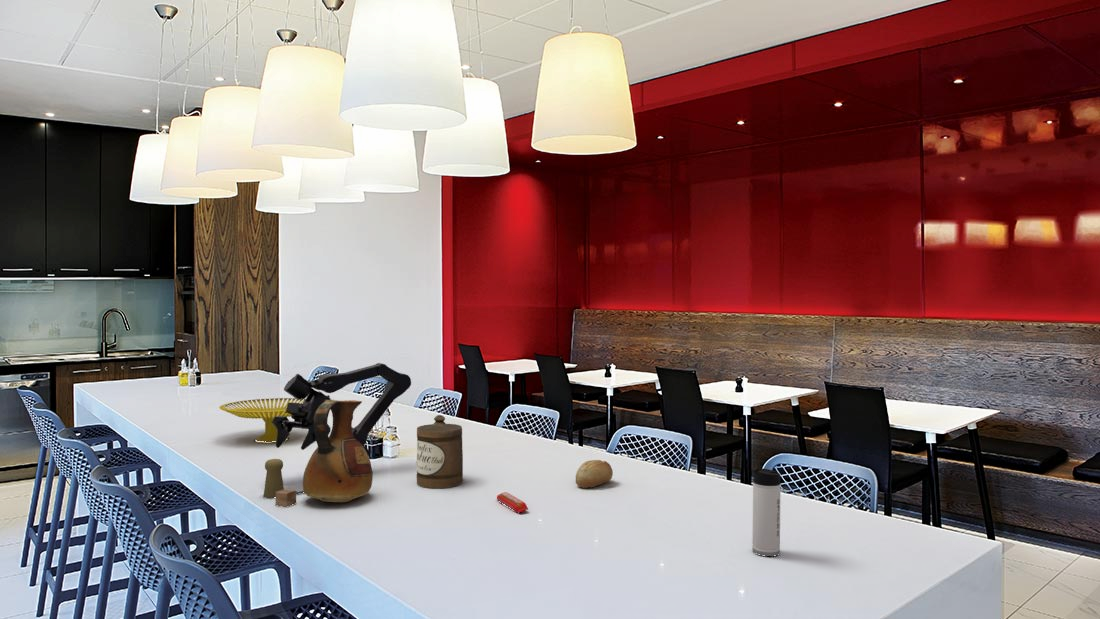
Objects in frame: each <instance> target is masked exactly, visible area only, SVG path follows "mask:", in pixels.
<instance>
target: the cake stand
mask: <svg viewBox="0 0 1100 619" xmlns="http://www.w3.org/2000/svg"><path fill="white" fill-rule="evenodd" d="M305 400H306V398H305V399H302V398H301V399H300V400H297V399H296V398H294V397H278V398H277V397H273V398H258V399H257V398H255V399H245V400H239V401H234V402H232V401H231V402H227V403H224V404H221V405H220V406H219V407H218V408H219V409H220V410H221V411H225V412H226V413H229V414H231V415H234V416H236V417H238V418H243V419H262V420H263V422H264V428H265V429H264V430H265V431H264V434H262V435H260V436H259V437H256V438H255V439H256V440H257V441H264V442H265V441H266V442H272V441H277V428H276V427H275V426H274V425H273V423H272V421H273V419H274V417H276V416H284V417H287V418H290V417H291V416H292V415H291V414H289V413H286V408H287V405H288V402H290V403H302V404H303V402H304V401H305ZM253 403H254V404H253ZM262 405H263V406H262ZM287 438H289V436H288V437H287ZM287 438H286V439H287Z"/></svg>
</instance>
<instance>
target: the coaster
mask: <svg viewBox="0 0 1100 619" xmlns="http://www.w3.org/2000/svg"><path fill="white" fill-rule="evenodd" d="M284 489H290V490H296V494H298V493H303V492H304V490H303V483H298V484H293V485H289V486H284ZM303 494H304V493H303ZM298 495H299V494H298Z"/></svg>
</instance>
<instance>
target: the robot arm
mask: <svg viewBox="0 0 1100 619" xmlns="http://www.w3.org/2000/svg"><path fill="white" fill-rule="evenodd" d="M375 377H380V378H383V379H384V380H385V381H387V382H386V384H385V387H384V390H383V393H382V394H380V397H379V398H378V399H377V400H376V402H375V403H374V404H373V405H372V407H371V408H370V409H369V410H368V412H367V413H366V414H365V415H364V417H363V418H362V419H361V421H360V422H359V423H358V424H357V425H356V426H354V427H352V432H353V435H354V438H355V439H356V440H357V441H359V442H360V443H361V445H362V446H363V447H364V449H365V450H366V452H367V454H368V456H369V457H370V454H371V451H370V449H368V448H367V447H366V446H365V445H366V443H367V441H368V438H369V434H370V432H371V431H372V429H373V428H374V427H375V426H376V424H377V423H378V422H379V420H380V419H381V418H382V416H384V414H385V413H386V411H387V410H388V409H389V407H390V406H391V405H392V403H393V402H394V401H395V400H396V399H398V398H399V397H400V396H402V395H403V394H404V393H405V392H407V390H408V389H410V387H411V386H412V379H411V377H410V375H408V374H405V373H403V372H398V371H396V370H394V369H393V368H390V367H389V366H388V365H387V364H384V363H381V362H377V363H375V364H372V365H368V366H364V367H361V368H357V369H353V370H350V371H346V372H342V373H341V372H339V373H338V372H337V373H325V374H321V375H320V376H319V377H318V378H317V379H315V380H311V381H308V380H307V379H305V378H304V377H303V375H301V374H300V373H296V374H295V376H293V377H292V378H291V379H290V380H288V381H287V383H286V384H285V386H284V387H283V391H284V392H285V393H287V394H288V395H290V396H291V397H292V398H296V399H295V400H298V401H300V399H303V400H304V399H306V400H305V401H304V402H303V403H301V402H300V403H298V402H296V403H294V402H293V403H291V401H290V402H288V401H287V402H288V405H287V408H286V413H289V414H291V415H292V416H290V417H291V419H292V420H290V419H288V418H289V417H284V416H276V417H274V419H273V421H272V423H273V425H274V426H275V427H276V428H277V441H276V443H275V447H276V449H279V448H280V447H281V446H282V445H283V443H285V442H286V441H285V440H286V438H287V437H288V438H289V436H290V434H291V433H290V432H292V430H293V429H294V428H295V429H302V430H308V432H307V434H306V435H305V438H304V439H303V441H302V443H301V446H300V449H301V450H302V451H304V450H305V449H307V448H309V446H311V445H312V444H313V443H315V442H317V441H316V437H315V432H314V415H315V412H316V410H317V409H318V407H319V406H320V405H321V404H323V403H324V402H325V400H330V399H331V397H330V395H329V394H333V393H336V392H337V391H339V390H342V389H343V388H344V387H347V386H348V385H350V384H355V383H357V382H362V381H365V380H369V379H372V378H375ZM323 392H325V393H327V394H328V395H326V394H324V393H323ZM327 429H328V436H330V434H331V431H332V427H331V426H330V425H329V423H327Z"/></svg>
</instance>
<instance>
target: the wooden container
mask: <svg viewBox="0 0 1100 619" xmlns="http://www.w3.org/2000/svg"><path fill="white" fill-rule="evenodd" d="M433 420H434V422H433V423H431V424H423V425H420V426H417V427H416V439H417V440H416V485H417V486H419V487H421V488H425V487H426V489H447V488H446V487H450V488H454V487H453V486H455V487H457V485H458V486H460V485H462V484H463V482H464V472H463V470H464V462H463V461H464V457H463V455H464V454H463V426H462V425H460V424H455V423H446V422H445V420H446V418H445V416H444V415H443V414H442V415H441V414H437V415H436V416H435V417H434V418H433ZM461 483H462V484H461ZM459 484H460V485H459Z"/></svg>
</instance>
